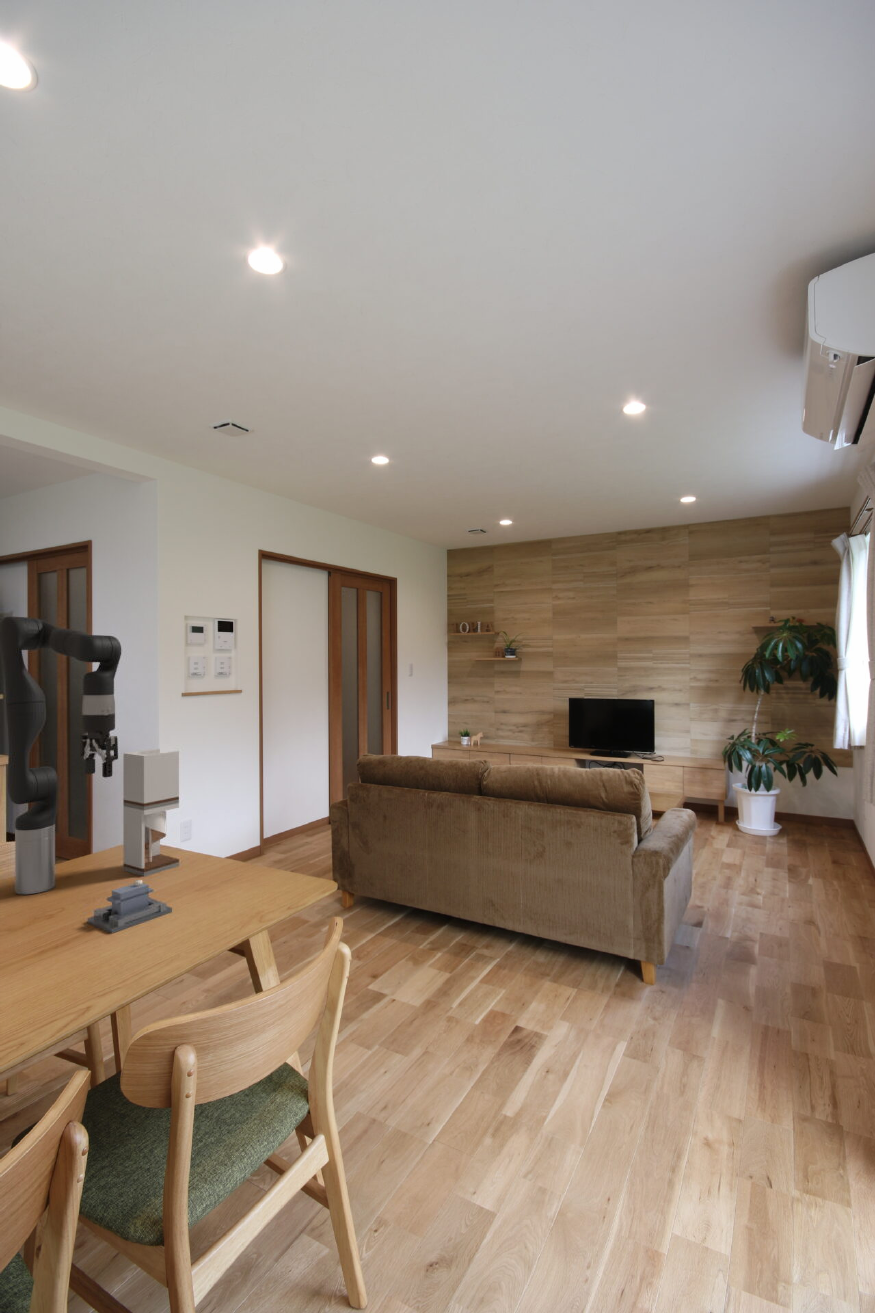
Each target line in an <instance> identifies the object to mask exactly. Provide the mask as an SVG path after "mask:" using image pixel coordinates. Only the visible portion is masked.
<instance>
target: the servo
mask: <svg viewBox="0 0 875 1313" xmlns="http://www.w3.org/2000/svg"><path fill="white" fill-rule="evenodd" d="M153 892H154V889H153V888H151V887H150V886H149V884H146V883H144V882H143V880H142V879H137V880H134V882H133V883H132V884H128V885H125V886H121V887H118V888H115V889H112V890H111V895H110V896H109V897H106V901H107V902H109V903H111V905H112V912H111V916H112V915H115V914H116V915H119V916H120V915H123V914H126V913H128V912H131V911H134V910H137V909H140V908H143V907H146V906H149V898H150V894H151V893H153Z"/></svg>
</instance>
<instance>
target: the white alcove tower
mask: <svg viewBox="0 0 875 1313" xmlns="http://www.w3.org/2000/svg"><path fill="white" fill-rule="evenodd" d="M122 762H123V763H122V764H123V770H122V771H123V782H122V783H123V788H122V789H123V792H122V793H123V794H122V795H123V798H122V799H123V808H122V810H123V832H122V833H123V835H122V836H123V842H122V843H123V850H122V851H123V853H122V855H123V864H122V865H123V871H125V872H127V873H131V874H135V875H138V876H142V877H147V876H150V875H153V874H156V873H157V874H158V873H161V872H164V871H166V870H169V869H172V868H176V867H180V858H176V857H173V856H169V855H165V854H161V840H162V839H164V838H165V837H167V811H169V810H174V809H178V808H180V751H179V750H175V751H168V752H161V749H160V748H156V749H148V750H139V751H131V752H124V753H123V761H122Z"/></svg>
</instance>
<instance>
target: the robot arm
mask: <svg viewBox="0 0 875 1313" xmlns="http://www.w3.org/2000/svg"><path fill="white" fill-rule="evenodd" d="M46 649H47V650H49V649H51V650H52V651H54V652H55V653H57V654H60V655H62V656H67V657H71V658H74V659H75V660H77V661H80V662H84V663H99V664H98V667H97V669H96V670H93V671H89V672H86V673H85V674H84V675H83V680H82V683H83V684H82V685H83V686H82V688H83V690H82V694H83V695H82V696H83V697H82V704H81V730H82V731H83V732H84V733H81V734H80V748H79V750H80V752H79V754H80V757H83V760H85V763H84V764H85V766H84V770H85V771H84V772H85V773H84V774H86V775H92V774H93V775H94V774H96V773H95V772H96V759H95V758H96V756H97V755H98V756H99V757H100V759H101V761H102V764H101V767H102V768H101V769H102V772H101V773H102V774H101V775H102V778H105V779H107V778H111V777H112V776H113V762H115V761H117V760H118V759H119V746H118V745H119V744H118V736H116V735H111V734H110V732H111V731H114V730H115V729H116V700H115V678H116V674H117V671H118V670H117V669H118V667H119V663H120V660H121V656H122V645H121V643H120V641H119V639H118V638H117V637H115V636H112V635H99V634H97V635H96V634H88V633H86V632H83V631H80V630H75V629H69V628H62V627H58V626H55V625H53V624H51V623H49V622H48V621H45V620H43V619H39V618H37V617H27V616H25V617H23V616H6V617H3V618H2V619H1V621H0V657H1V662H2V669H3V677H4V679H3V680H4V693H5V694H4V695H5V715H6V725H7V741H8V743H7V744H8V756H7V758H8V760H7V792H8V797H9V800H10V801H11V802H12V803H13V804H15V805H25V804H31V803H33V805H32V806H31V807H30V808H29V809H28V810H27V811H25V812H23V813H22V814H20V815H18V816H17V817H16V819H15V822H14V828H15V830H14V835H15V836H14V848H15V849H14V858H15V859H14V860H15V861H14V866H15V868H14V870H15V871H14V873H15V874H14V892H15V894H18V895H32V894H33V895H34V894H37V893H38V894H39V893H43V892H46V891H49V890H51V889H53V888H54V887H55V886H56V884H55V883H56V879H55V878H56V874H55V873H56V831H55V830H56V816H57V813H58V799H59V798H58V797H59V778H58V777H59V776H58V774H57V772H56V770H55V769H54V767H52V766H46V765H45V766H40V767H31V768H29V767H30V764H29V763H30V762H29V761H30V753H31V751H32V750H31V749H32V747H33V745H34V743H35V741H36V740H37V738H38V736H39V734H41V731H42V729H43V727H45V725H46V724H45V723H46V720H47V706H46V705H47V704H46V697H45V694H44V691H43V690H42V689H41V687H40V685H39V684H38V683H37V681H36V680H35V679H34V678H33V677H32V675H31V674H30V672H29V671H28V670H27V668H26V664H25V662H24V657H23V651H36V650H46Z"/></svg>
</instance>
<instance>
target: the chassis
mask: <svg viewBox="0 0 875 1313" xmlns="http://www.w3.org/2000/svg"><path fill="white" fill-rule="evenodd" d="M111 912H112V904H110V905H107V906H105V907H98V908H96V909H94V910H93V916H91V917H88V918H87V924H89V925H92V926H94V927H96V928H99V929H101V930H104V931H105V932H107V933H110V934H114V933H117V932H120V931H123V930H125V929H128V928H131V927H133V926H136V925H139V924H142V923H145V922H148V921H150V920H154V919H156V918H159V917H162V916H165V915H167V914H168V915H169V914H170V913H172V912H173V907H171V906H168V905H167V903H165V902H163V901H159V900H158V899H154V898H152V897H149V906H146V907H143V908H140V909H137V910H134V911H131V912H128V913H126V914H123V915H120V916H119V915H116V914H115V915H112V916H111Z"/></svg>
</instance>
